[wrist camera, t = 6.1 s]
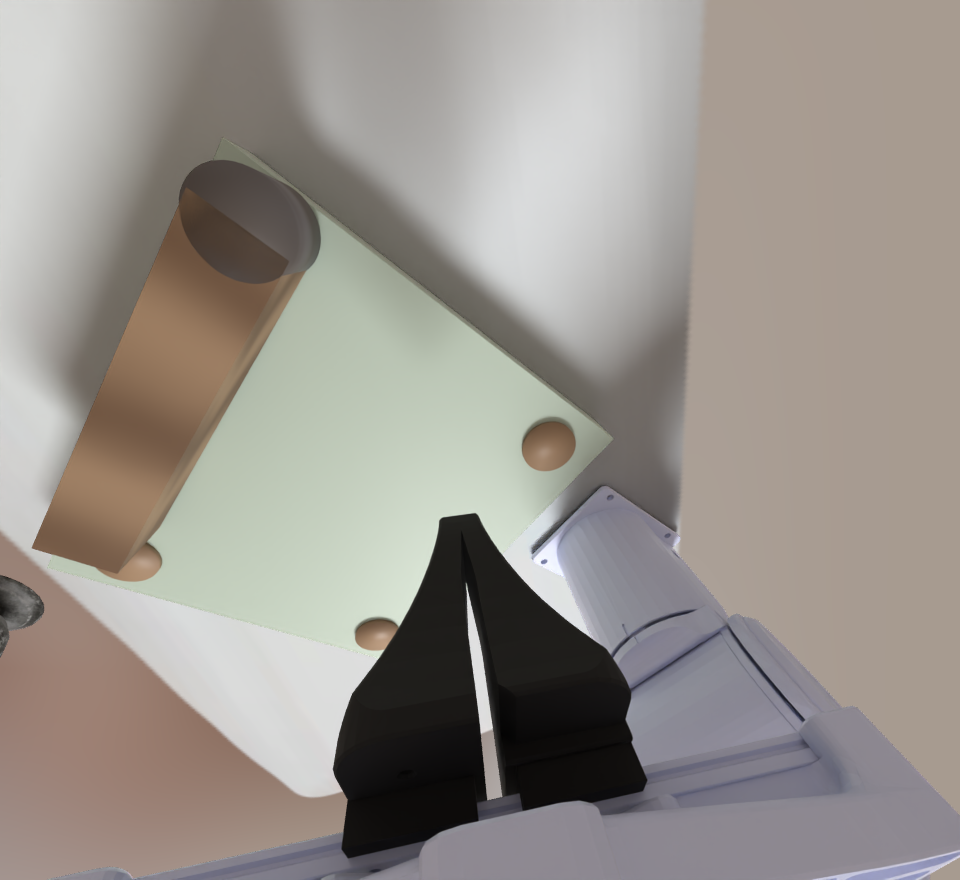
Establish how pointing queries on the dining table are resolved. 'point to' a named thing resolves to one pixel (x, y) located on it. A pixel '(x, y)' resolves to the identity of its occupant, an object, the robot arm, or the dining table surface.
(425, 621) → the robot arm
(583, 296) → the dining table surface
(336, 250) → the stool seat
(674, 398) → the dining table surface
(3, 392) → the dining table surface
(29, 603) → the salt shaker
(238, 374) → the folding leg
